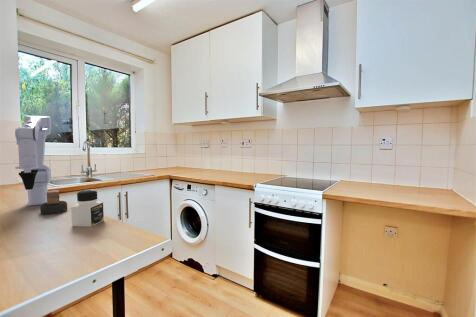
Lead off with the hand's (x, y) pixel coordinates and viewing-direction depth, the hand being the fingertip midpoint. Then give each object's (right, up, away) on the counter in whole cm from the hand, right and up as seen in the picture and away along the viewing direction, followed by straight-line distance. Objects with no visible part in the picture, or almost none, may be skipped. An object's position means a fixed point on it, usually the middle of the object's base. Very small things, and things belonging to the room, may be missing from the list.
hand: (29, 188), depth 98 cm
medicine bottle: (+34, -11, -14) cm, 38 cm away
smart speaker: (+10, -10, 0) cm, 15 cm away
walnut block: (+10, -6, 0) cm, 12 cm away
